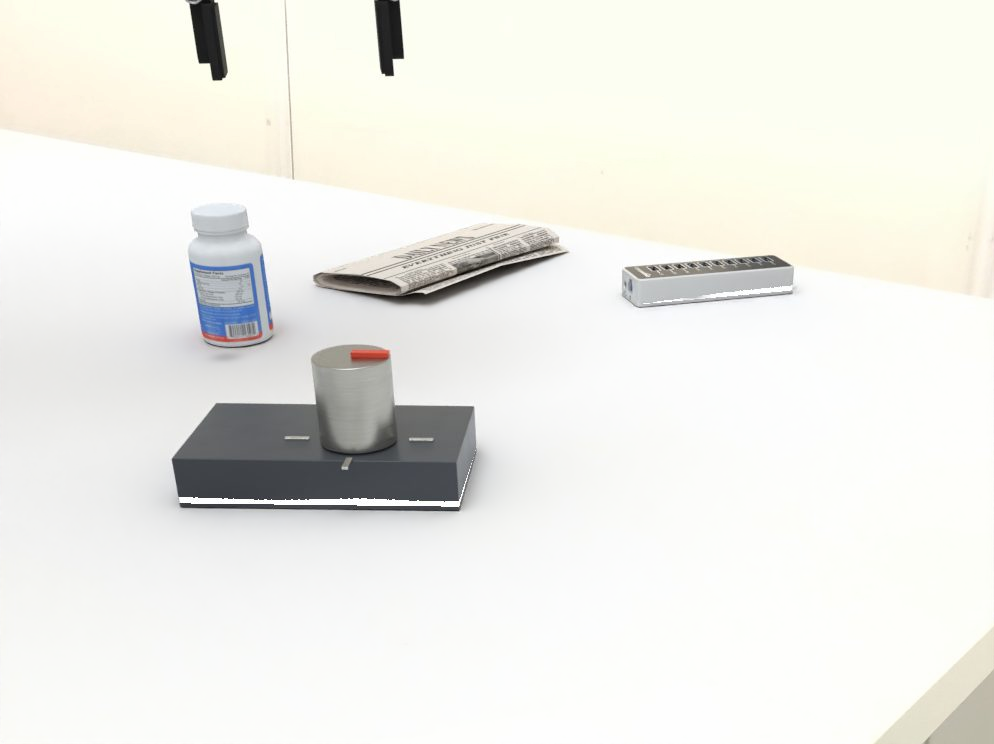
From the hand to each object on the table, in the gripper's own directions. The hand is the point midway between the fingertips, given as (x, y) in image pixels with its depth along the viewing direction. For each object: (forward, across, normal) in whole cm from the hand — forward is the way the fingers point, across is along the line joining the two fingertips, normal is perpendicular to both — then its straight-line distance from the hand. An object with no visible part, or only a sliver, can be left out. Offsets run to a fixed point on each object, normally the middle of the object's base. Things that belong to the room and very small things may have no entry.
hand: (304, 75), depth 78 cm
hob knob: (+18, -1, +13) cm, 22 cm away
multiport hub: (+22, -31, -24) cm, 45 cm away
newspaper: (+21, -10, -36) cm, 43 cm away
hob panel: (+21, +1, +11) cm, 24 cm away
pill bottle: (+21, +8, -18) cm, 29 cm away
